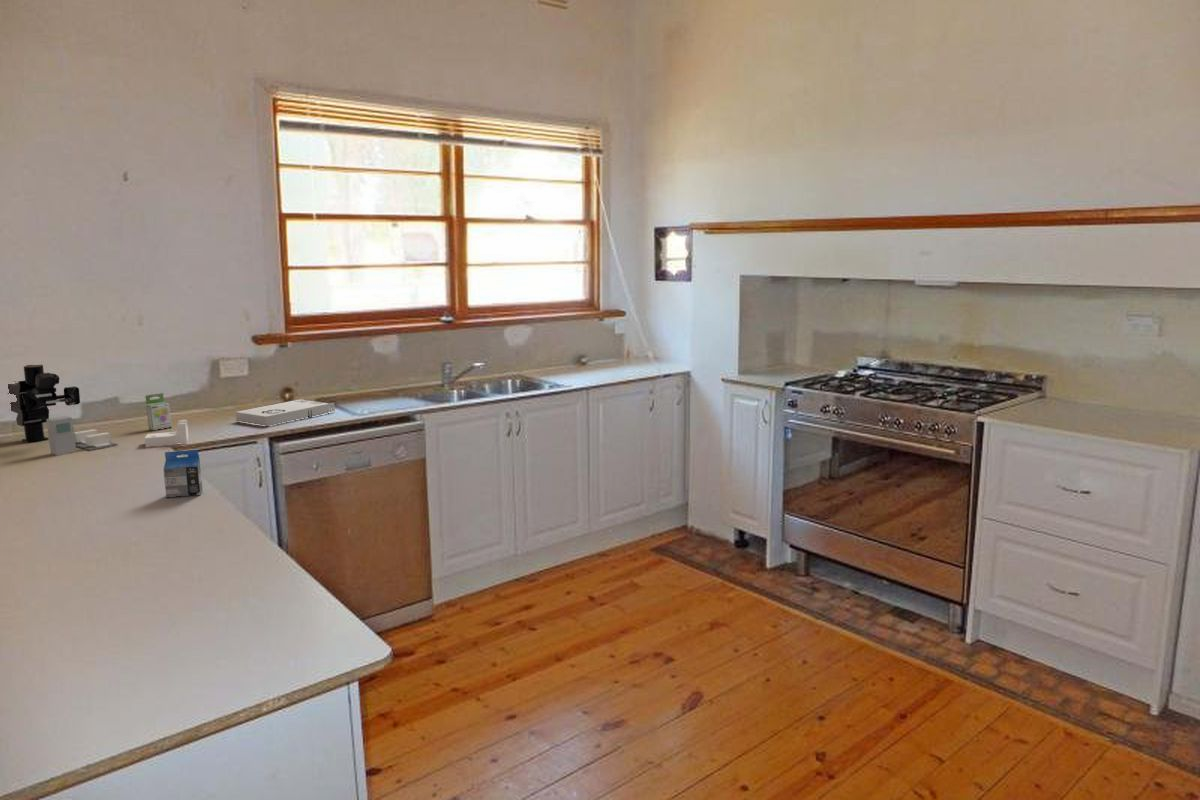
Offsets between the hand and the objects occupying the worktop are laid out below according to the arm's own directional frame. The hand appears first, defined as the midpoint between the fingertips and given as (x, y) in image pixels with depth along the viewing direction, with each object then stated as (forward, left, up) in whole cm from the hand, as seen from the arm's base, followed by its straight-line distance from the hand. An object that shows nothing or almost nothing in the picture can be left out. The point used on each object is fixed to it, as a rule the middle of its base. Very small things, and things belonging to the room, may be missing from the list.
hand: (59, 402), depth 285 cm
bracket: (+21, +24, -17) cm, 36 cm away
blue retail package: (+88, -6, -17) cm, 89 cm away
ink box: (-5, +35, -17) cm, 39 cm away
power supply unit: (+17, +75, -17) cm, 79 cm away
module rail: (+1, +8, -16) cm, 19 cm away
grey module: (+5, -3, -17) cm, 17 cm away
